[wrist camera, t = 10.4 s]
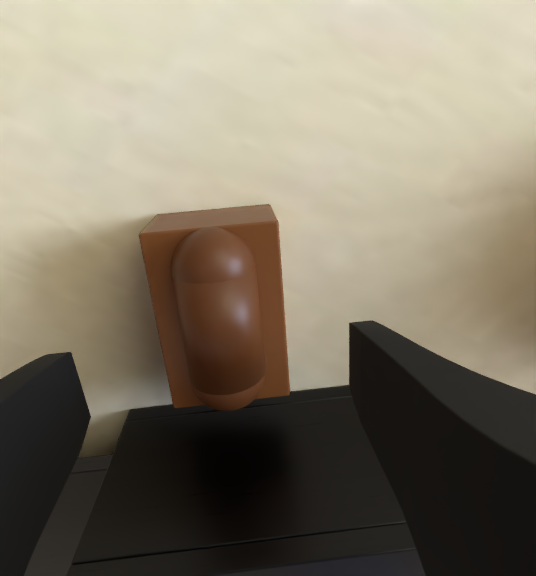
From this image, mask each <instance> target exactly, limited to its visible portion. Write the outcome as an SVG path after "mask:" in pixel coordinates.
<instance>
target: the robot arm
mask: <svg viewBox="0 0 536 576" xmlns="http://www.w3.org/2000/svg"><path fill="white" fill-rule="evenodd" d="M349 388H350V391H351V395H352V398H353V401H354V404H355V407H356V410H357V413H358V416H359V419H360V422H361V424H362V426H363V429H364V431H365V433H366V435H367V437H368V439H369V441H370V443H371V446H372V448H373V450H374V452H375V454H376V456H377V458H378V460H379V462H380V464H381V466H382V469H383V471H384V473H385V475H386V477H387V479H388V481H389V483H390V485H391V487H392V489H393V491H394V494H395V496H396V498H397V500H398V502H399V505H400V507H401V509H402V512H403V514H404V517H405V519H406V522H407V525H408V527H409V530H410V533H411V536H412V538H413V541H414V544H415V547H416V549H417V552H418V555H419V558H420V560H421V563H422V566H423V569H424V572H425V575H426V576H536V395H535V394H532V393H529V392H526V391H523V390H520V389H518V388H515V387H512V386H509V385H507V384H504V383H501V382H499V381H496V380H494V379H491V378H488V377H486V376H483V375H481V374H478V373H476V372H474V371H471V370H469V369H467V368H465V367H462V366H460V365H458V364H456V363H454V362H452V361H449V360H447V359H445V358H443V357H441V356H439V355H437V354H435V353H433V352H431V351H429V350H427V349H425V348H424V347H422V346H420V345H418V344H416V343H414V342H412V341H411V340H409V339H407V338H405V337H403V336H402V335H400V334H398V333H396V332H394V331H392V330H391V329H389V328H387V327H385V326H383V325H381V324H379V323H377V322H375V321H363V322H353V323H349ZM90 417H91V416H90V413H89V410H88V406H87V403H86V400H85V396H84V393H83V390H82V386H81V383H80V380H79V376H78V373H77V370H76V367H75V363H74V360H73V357H72V353H71V352H66V353H56V354H47V355H45V356H42V357H40V358H38V359H36V360H34V361H32V362H30V363H28V364H26V365H24V366H23V367H21V368H19V369H17V370H16V371H14V372H12V373H10V374H9V375H7V376H5V377H4V378H2V379H0V576H24V574H25V571H26V569H27V566H28V563H29V561H30V559H31V556H32V554H33V552H34V549H35V547H36V545H37V542H38V540H39V538H40V536H41V534H42V532H43V530H44V528H45V525H46V523H47V521H48V519H49V517H50V515H51V513H52V511H53V509H54V507H55V505H56V502H57V500H58V498H59V496H60V494H61V492H62V490H63V488H64V486H65V484H66V481H67V479H68V477H69V475H70V473H71V471H72V469H73V466H74V464H75V462H76V460H77V458H78V455H79V453H80V450H81V447H82V444H83V441H84V438H85V435H86V431H87V428H88V424H89V421H90Z"/></svg>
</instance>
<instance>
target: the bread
mask: <svg viewBox="0 0 536 576" xmlns="http://www.w3.org/2000/svg"><path fill="white" fill-rule="evenodd" d="M139 239H140V244H141V249H142V254H143V259H144V264H145V268H146V273H147V278H148V283H149V288H150V293H151V298H152V303H153V308H154V313H155V318H156V323H157V328H158V333H159V338H160V343H161V347H162V352H163V357H164V362H165V367H166V372H167V377H168V382H169V387H170V392H171V397H172V402H173V406H174V408H181V407H190V406H199V405H207V406H209V407H211V408H214V409H216V410H220V411H233V410H237V409H240V408H243V407H245V406H247V405H248V404H250V403H251V402H252V401H253V400H254V399H262V398H271V397H280V396H288V395H290V385H289V370H288V356H287V341H286V327H285V312H284V297H283V283H282V268H281V254H280V239H279V225H278V221H277V219H276V216H275V214H274V212H273V210H272V208H271V206H270V205H269V204H266V205H255V206H245V207H234V208H223V209H212V210H201V211H190V212H179V213H168V214H158V215H156V217H155V218H154V219H153V220H152V221H151V222H150V223H149V224H148V225H147V226H146V227H145V228H144V229H143V230H142V231H141V232H140V233H139Z"/></svg>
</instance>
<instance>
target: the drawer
mask: <svg viewBox="0 0 536 576" xmlns="http://www.w3.org/2000/svg"><path fill="white" fill-rule="evenodd" d="M111 458H112V455H104V456H96V457H87V458H78V459H77V460H76V462H75V464H74V466H73V469H72V471H71V473H70V475H69V477H68V479H67V481H66V484H65V486H64V488H63V490H62V492H61V494H60V496H59V498H58V500H57V502H56V505H55V507H54V509H53V511H52V513H51V515H50V517H49V519H48V521H47V523H46V525H45V528H44V530H43V532H42V534H41V536H40V538H39V540H38V542H37V545H36V547H35V549H34V552H33V554H32V556H31V559H30V561H29V563H28V566H27V569H26V571H25V574H24V576H66V575H67V573H68V570H69V567H70V566H71V563H72V560H73V557H74V555H75V552H76V549H77V547H78V544H79V542H80V539H81V536H82V534H83V531H84V528H85V526H86V523H87V521H88V518H89V515H90V513H91V510H92V507H93V505H94V502H95V500H96V497H97V494H98V492H99V489H100V487H101V484H102V481H103V479H104V476H105V473H106V471H107V468H108V466H109V463H110V460H111Z"/></svg>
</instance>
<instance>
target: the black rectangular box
mask: <svg viewBox="0 0 536 576" xmlns="http://www.w3.org/2000/svg"><path fill="white" fill-rule="evenodd" d="M66 576H426V575H425V572H424V569H423V566H422V563H421V560H420V558H419V555H418V552H417V549H416V547H415V544H414V541H413V538H412V536H411V533H410V530H409V527H408V525H407V522H406V519H405V517H404V514H403V512H402V509H401V507H400V505H399V502H398V500H397V498H396V496H395V494H394V491H393V489H392V487H391V485H390V483H389V481H388V479H387V477H386V475H385V473H384V471H383V469H382V466H381V464H380V462H379V460H378V458H377V456H376V454H375V452H374V450H373V448H372V446H371V443H370V441H369V439H368V437H367V435H366V433H365V431H364V429H363V426H362V424H361V422H360V419H359V416H358V413H357V410H356V407H355V404H354V401H353V398H352V395H351V391H350V388H349V386H340V387H331V388H322V389H313V390H303V391H294V392H290V395H288V396H280V397H271V398H262V399H254V400H253V401H252V402H251V403H250V404H248V405H247V406H245V407H243V408H240V409H237V410H233V411H220V410H216V409H214V408H211V407H209V406H207V405H199V406H190V407H181V408H174V406H173V405H168V406H159V407H150V408H141V409H131V410H130V411H129V414H128V416H127V419H126V422H125V424H124V426H123V429H122V432H121V434H120V437H119V439H118V442H117V445H116V447H115V450H114V452H113V455H112V458H111V460H110V463H109V466H108V468H107V471H106V473H105V476H104V479H103V481H102V484H101V487H100V489H99V492H98V494H97V497H96V500H95V502H94V505H93V507H92V510H91V513H90V515H89V518H88V521H87V523H86V526H85V528H84V531H83V534H82V536H81V539H80V542H79V544H78V547H77V549H76V552H75V555H74V557H73V560H72V563H71V566H70V567H69V570H68V573H67V575H66Z"/></svg>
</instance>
